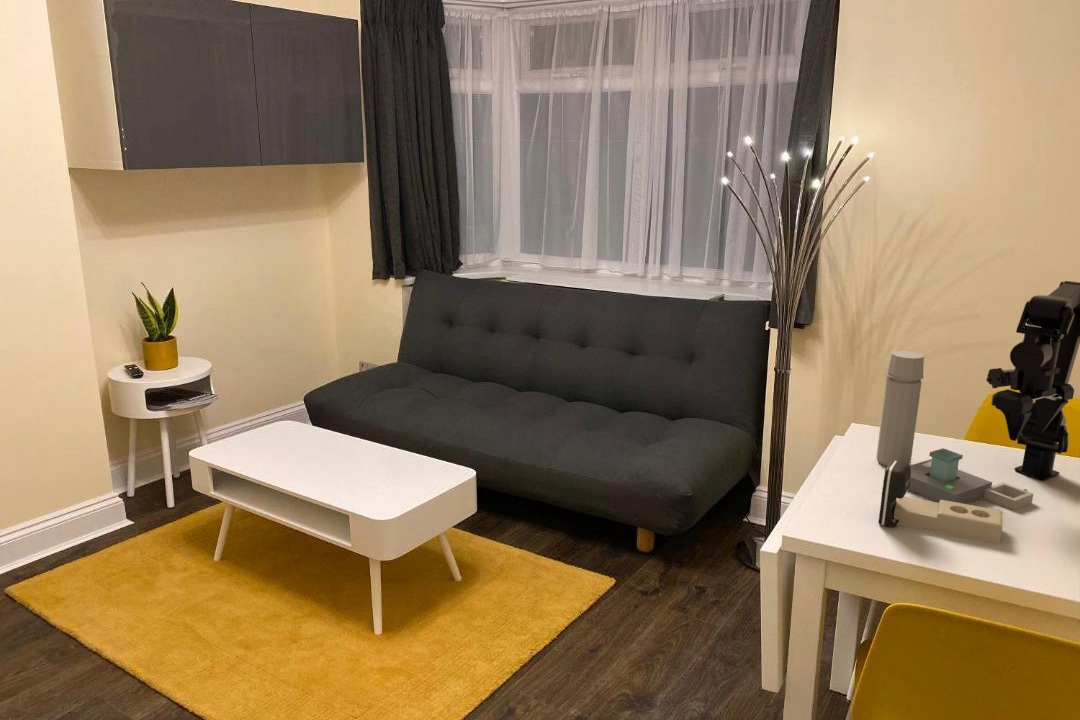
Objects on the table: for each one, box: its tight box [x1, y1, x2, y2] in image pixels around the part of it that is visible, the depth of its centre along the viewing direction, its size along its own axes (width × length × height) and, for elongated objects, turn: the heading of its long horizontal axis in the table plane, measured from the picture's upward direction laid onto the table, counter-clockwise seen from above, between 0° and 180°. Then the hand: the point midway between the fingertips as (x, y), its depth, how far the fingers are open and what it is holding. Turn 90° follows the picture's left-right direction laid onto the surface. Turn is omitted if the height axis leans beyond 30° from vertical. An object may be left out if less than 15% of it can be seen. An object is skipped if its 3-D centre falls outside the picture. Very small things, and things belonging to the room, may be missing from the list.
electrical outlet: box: [894, 495, 1003, 545], centre depth 162 cm, size 7×4×18 cm
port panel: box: [907, 458, 993, 505], centre depth 178 cm, size 12×14×3 cm
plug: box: [928, 447, 963, 483], centre depth 177 cm, size 4×4×8 cm
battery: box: [878, 461, 911, 528], centre depth 162 cm, size 7×4×11 cm, turn 147°
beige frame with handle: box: [983, 482, 1034, 511], centre depth 174 cm, size 9×6×2 cm
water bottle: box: [875, 349, 925, 467], centre depth 189 cm, size 9×8×25 cm
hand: (1026, 436), depth 173 cm, fingers open, 9 cm apart
